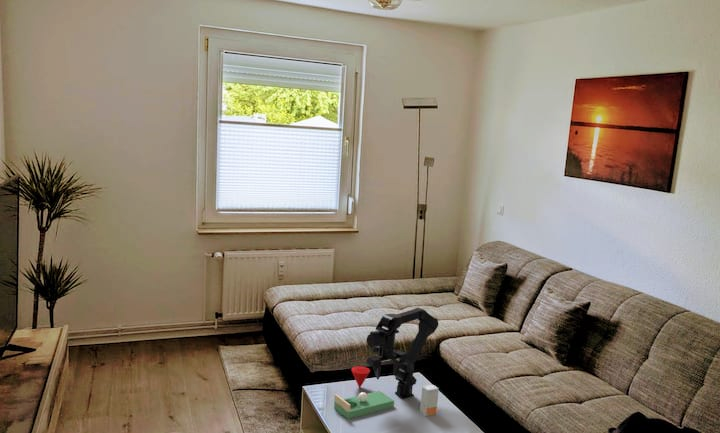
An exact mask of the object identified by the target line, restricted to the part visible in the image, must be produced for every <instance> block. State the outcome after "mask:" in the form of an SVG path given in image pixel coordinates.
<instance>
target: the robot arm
mask: <svg viewBox="0 0 720 433" xmlns="http://www.w3.org/2000/svg"><path fill="white" fill-rule="evenodd" d="M417 320H418V321H419V322H418V327H417V328H418V331H417V334H416V335H415V337H414V339H413V341H412V343H411V345H410V347H409V348H408V351H407V353H406V352H403V351H401V350H397V346H395V345H396V334H399V333H400V331H399V328H400V327H401V326H402V325H404V324H407V323H409V322H413V321H417ZM438 327H439V320H438V318H436V317H434V316H433V315H431V314H430V313H428V311H426V310H425V309H424V308H420V307H415V308H413V309H410V310H407V311H404V312H403V311H402V312H401V313H397V314H396V313H385V314H383V315H382V317H381V318H380V321H378V323H377V325H376V327H375V330H374V331H373V330H372V331H370V332H369V334H368V335H367V337H366V344H367V345H368V347H369V348H370V349H369V350H370V353H371V354H373V355H372V356H368V357H367V358H366V364H367V365H369V366H370V367H372V368H373V372H374V374H375V378H376V380H379V379H380V376H381V372H382V366H381V365H382V363H383V362H389V361H393V371H392V374H393V376H394V378H395V380H396V381H398V382H397V385H396V391H395V392H394V394H395V395H397V396H398V397H400V398H401V399H406V398H412V397H414V396H415V394H413V386H414V385H416V384H417V378H416V376H414V373H415V363H416V361H417V360H418V357H419V355H420V353H421V351H422V349H423V347H424V345H425V343H426V342H427V340H428V338H429V336H431V335H432V334H434V333H435V331H436V330H437V329H438ZM395 350H397V351H395ZM375 355H377V356H379V357H377V356H375Z"/></svg>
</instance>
